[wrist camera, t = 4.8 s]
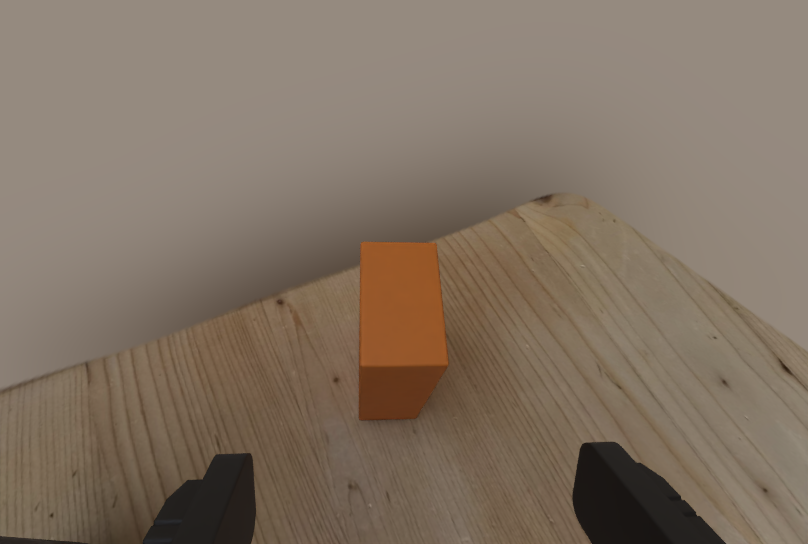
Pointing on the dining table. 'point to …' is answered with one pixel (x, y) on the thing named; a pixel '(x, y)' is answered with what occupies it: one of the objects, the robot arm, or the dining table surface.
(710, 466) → the dining table surface
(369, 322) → the block
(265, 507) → the dining table surface
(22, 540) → the beverage cup
